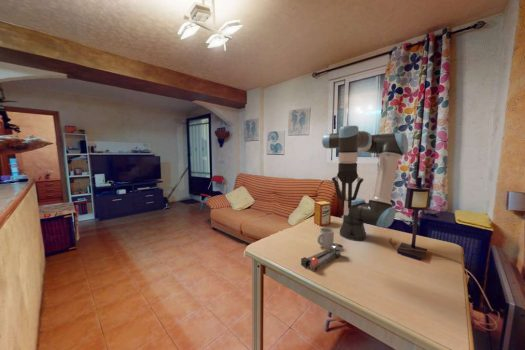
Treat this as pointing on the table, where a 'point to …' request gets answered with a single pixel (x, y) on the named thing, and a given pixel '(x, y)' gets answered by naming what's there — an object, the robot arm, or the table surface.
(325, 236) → the cup
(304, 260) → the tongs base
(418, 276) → the table surface
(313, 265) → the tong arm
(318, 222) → the baking soda box
